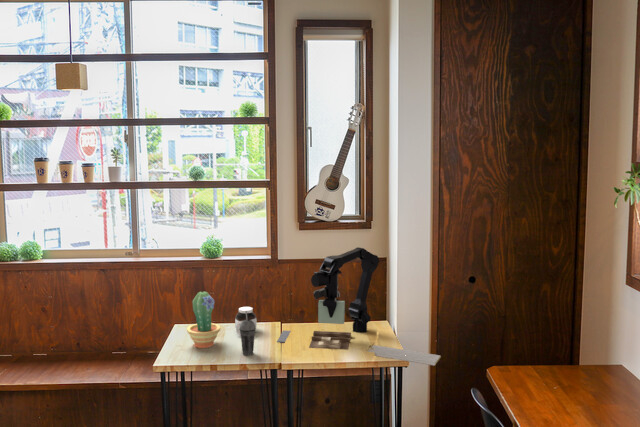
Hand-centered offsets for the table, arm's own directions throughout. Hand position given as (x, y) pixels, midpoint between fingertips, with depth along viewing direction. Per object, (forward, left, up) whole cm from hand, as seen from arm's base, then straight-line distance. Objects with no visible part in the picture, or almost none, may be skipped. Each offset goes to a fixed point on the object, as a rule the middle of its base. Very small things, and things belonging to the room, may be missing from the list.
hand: (331, 316), depth 284 cm
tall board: (0, 0, -3) cm, 3 cm away
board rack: (0, +4, -12) cm, 13 cm away
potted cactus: (+58, +13, -12) cm, 61 cm away
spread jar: (+43, -6, -12) cm, 45 cm away
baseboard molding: (-33, +16, -13) cm, 39 cm away
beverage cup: (+35, +22, -12) cm, 43 cm away
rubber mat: (+18, -2, -12) cm, 22 cm away
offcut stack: (0, +9, -11) cm, 15 cm away
